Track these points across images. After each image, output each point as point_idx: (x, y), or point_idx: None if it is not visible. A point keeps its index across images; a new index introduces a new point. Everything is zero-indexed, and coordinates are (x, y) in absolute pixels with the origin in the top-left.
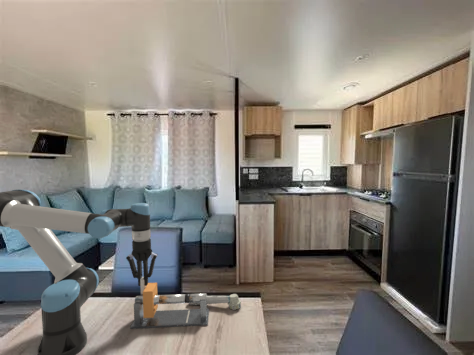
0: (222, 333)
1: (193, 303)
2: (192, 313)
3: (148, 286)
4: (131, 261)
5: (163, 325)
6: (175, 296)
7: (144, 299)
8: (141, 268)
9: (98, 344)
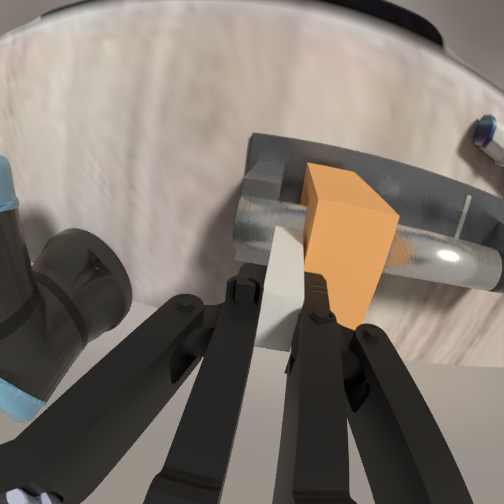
0: (495, 320)
1: (490, 155)
2: (474, 219)
3: (326, 270)
4: (84, 496)
5: None
6: (460, 281)
7: None
8: (242, 398)
9: (164, 290)
